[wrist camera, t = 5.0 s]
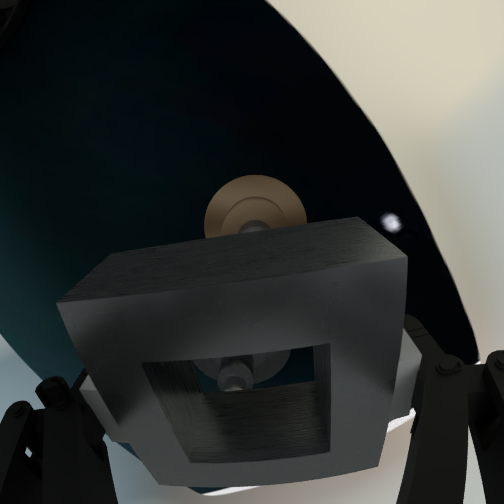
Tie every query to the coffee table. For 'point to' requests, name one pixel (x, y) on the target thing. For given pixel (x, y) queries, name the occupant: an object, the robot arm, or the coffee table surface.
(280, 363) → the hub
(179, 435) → the collar
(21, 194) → the coffee table surface
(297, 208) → the stand
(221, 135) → the coffee table surface
